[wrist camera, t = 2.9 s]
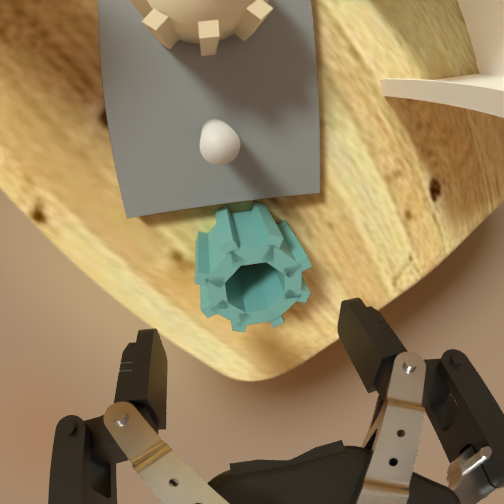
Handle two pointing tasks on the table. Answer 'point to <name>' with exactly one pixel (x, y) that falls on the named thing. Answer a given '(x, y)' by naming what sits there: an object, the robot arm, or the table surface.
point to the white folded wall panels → (467, 86)
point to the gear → (250, 268)
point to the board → (210, 100)
